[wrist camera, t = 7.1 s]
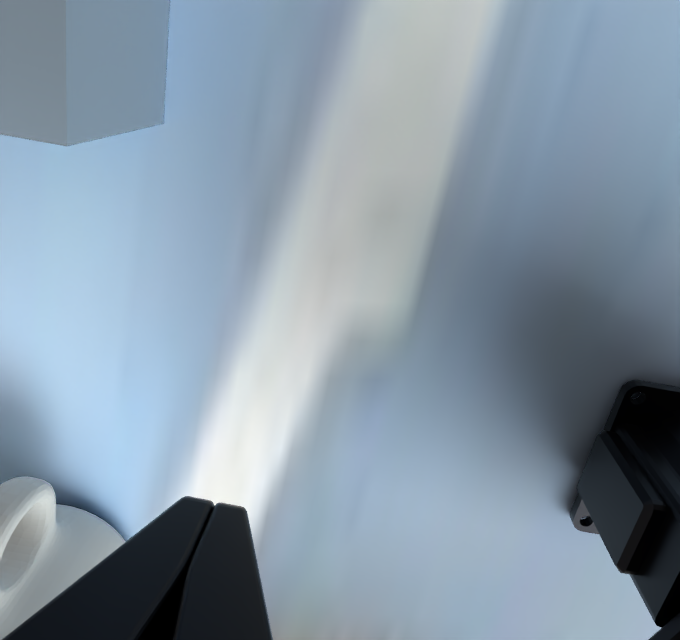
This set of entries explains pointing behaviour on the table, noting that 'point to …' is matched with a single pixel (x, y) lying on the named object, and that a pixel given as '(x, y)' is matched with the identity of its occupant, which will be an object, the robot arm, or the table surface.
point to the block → (81, 68)
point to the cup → (44, 548)
